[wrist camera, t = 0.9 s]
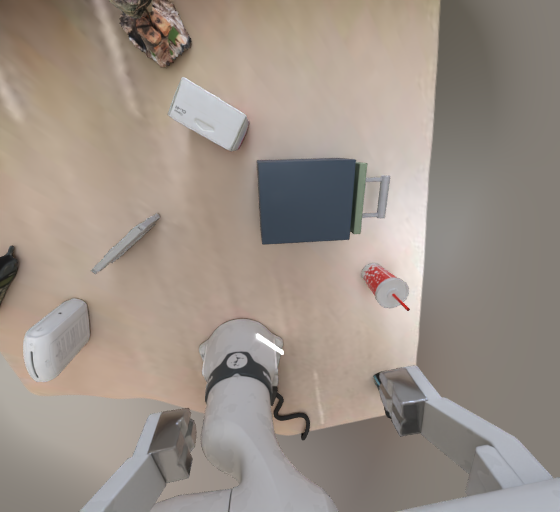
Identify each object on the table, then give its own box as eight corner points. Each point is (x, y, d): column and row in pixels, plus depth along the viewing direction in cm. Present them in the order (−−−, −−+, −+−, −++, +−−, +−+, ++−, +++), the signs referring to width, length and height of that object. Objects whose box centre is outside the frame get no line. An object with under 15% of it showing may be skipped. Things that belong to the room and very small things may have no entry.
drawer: (379, 160, 46) (397, 162, 40) (372, 223, 51) (388, 232, 45) (276, 163, 45) (280, 165, 39) (278, 227, 49) (281, 238, 43)
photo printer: (64, 296, 51) (10, 338, 39) (88, 298, 51) (42, 340, 40) (70, 338, 54) (22, 388, 43) (92, 340, 55) (51, 390, 44)
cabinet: (339, 158, 46) (356, 159, 39) (335, 226, 51) (349, 239, 44) (256, 160, 45) (258, 162, 38) (260, 230, 50) (262, 244, 42)
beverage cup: (356, 286, 57) (387, 326, 44) (359, 260, 54) (393, 294, 41) (383, 284, 57) (422, 323, 44) (387, 259, 55) (429, 292, 42)
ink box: (250, 123, 43) (250, 114, 32) (237, 152, 44) (233, 153, 33) (200, 93, 40) (181, 72, 30) (188, 124, 42) (166, 116, 31)
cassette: (119, 259, 49) (97, 277, 42) (110, 252, 48) (86, 269, 41) (163, 218, 47) (147, 230, 40) (155, 210, 46) (138, 221, 39)
